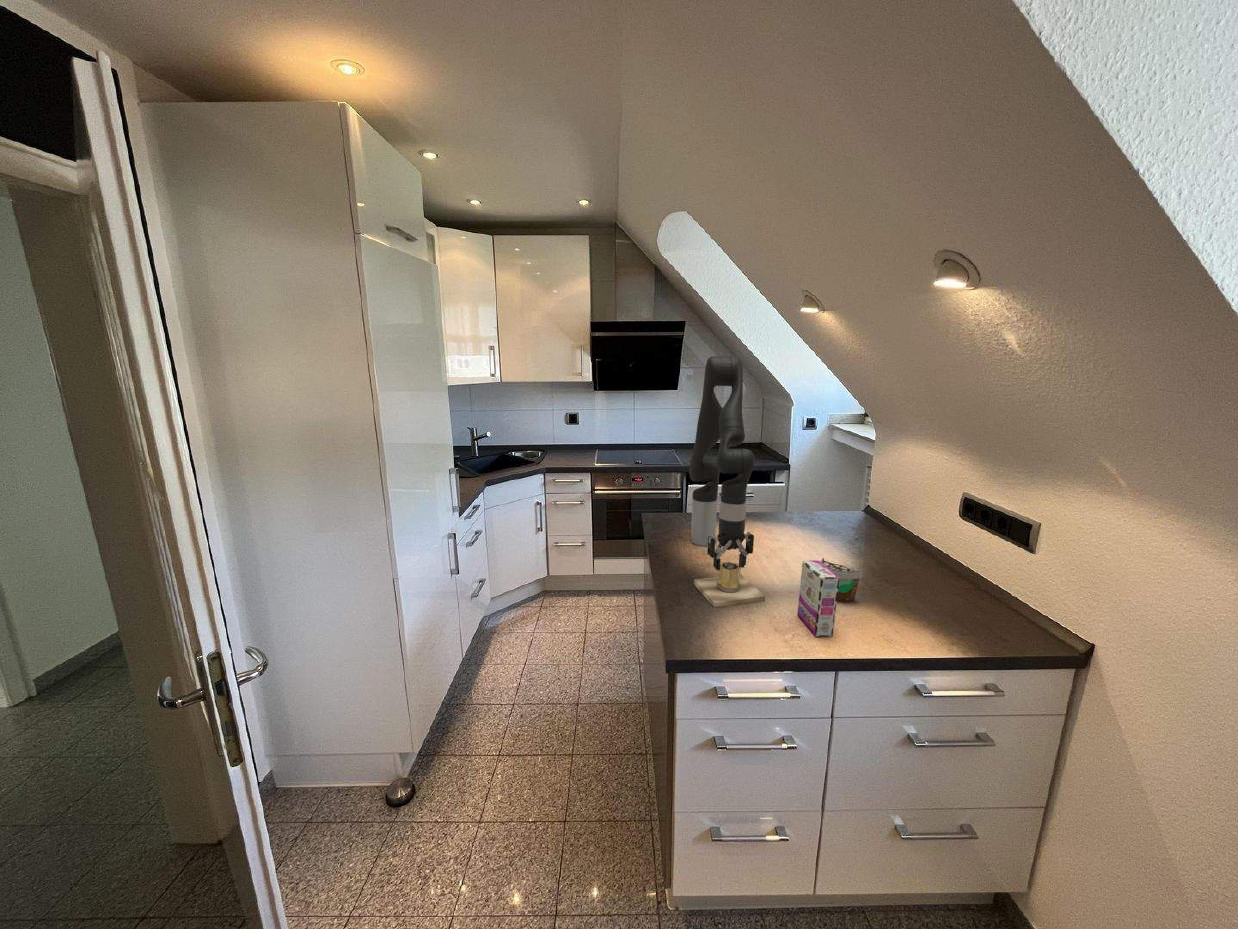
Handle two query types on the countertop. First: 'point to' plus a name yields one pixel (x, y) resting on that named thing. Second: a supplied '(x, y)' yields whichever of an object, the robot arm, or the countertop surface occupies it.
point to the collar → (729, 576)
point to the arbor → (727, 566)
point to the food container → (845, 581)
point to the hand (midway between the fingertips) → (729, 568)
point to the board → (726, 599)
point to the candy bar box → (818, 598)
